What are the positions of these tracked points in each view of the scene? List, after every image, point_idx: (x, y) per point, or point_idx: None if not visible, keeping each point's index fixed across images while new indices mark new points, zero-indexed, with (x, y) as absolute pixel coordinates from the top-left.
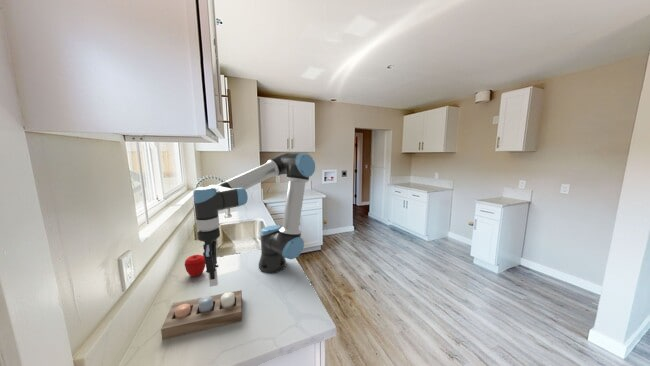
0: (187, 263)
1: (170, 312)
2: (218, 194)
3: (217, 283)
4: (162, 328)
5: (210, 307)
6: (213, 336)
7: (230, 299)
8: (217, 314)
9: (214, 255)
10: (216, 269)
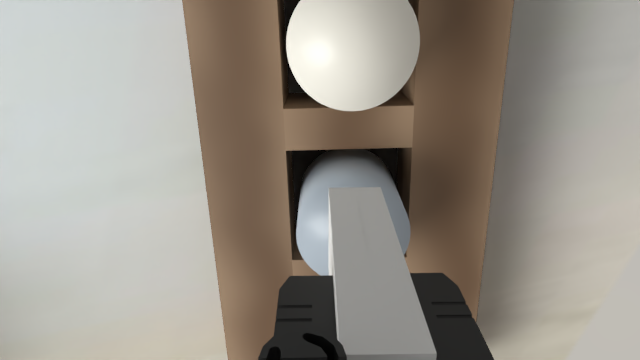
0: None
1: None
2: None
3: (363, 193)
4: None
5: (387, 176)
6: (553, 108)
7: (411, 10)
8: (472, 110)
9: None
10: (355, 335)
